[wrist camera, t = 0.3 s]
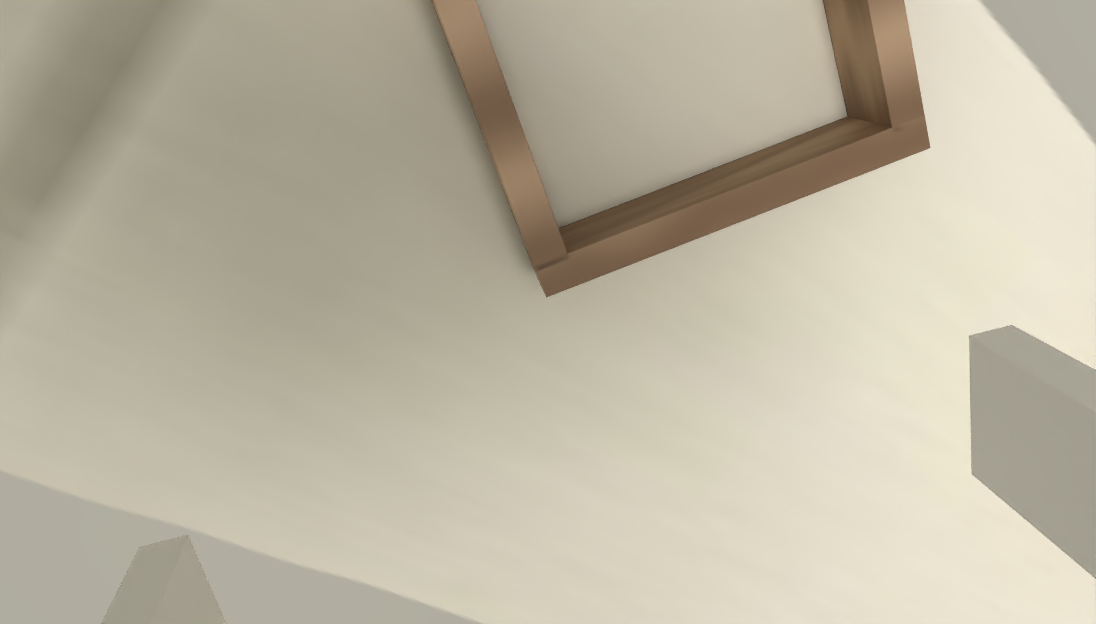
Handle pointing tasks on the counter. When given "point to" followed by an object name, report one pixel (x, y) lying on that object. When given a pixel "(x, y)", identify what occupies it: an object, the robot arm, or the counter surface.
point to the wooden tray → (718, 194)
